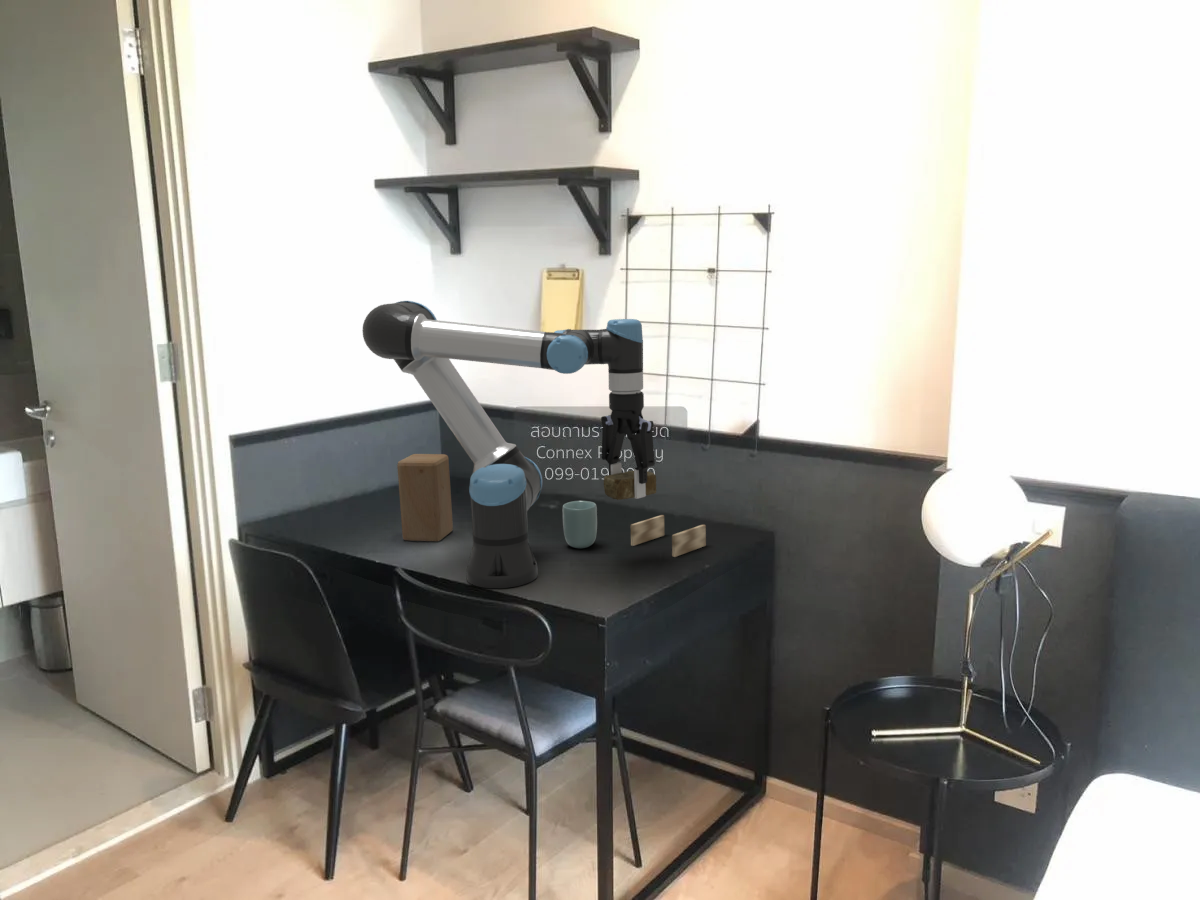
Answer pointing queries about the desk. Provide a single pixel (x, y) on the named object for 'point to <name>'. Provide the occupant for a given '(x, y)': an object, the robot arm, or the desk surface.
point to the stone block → (626, 485)
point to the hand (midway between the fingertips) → (628, 494)
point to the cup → (580, 523)
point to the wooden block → (425, 497)
